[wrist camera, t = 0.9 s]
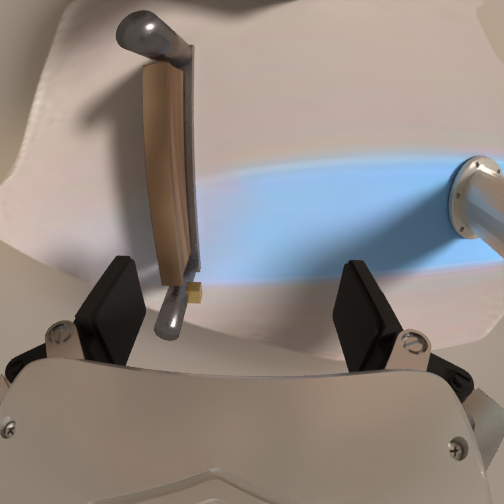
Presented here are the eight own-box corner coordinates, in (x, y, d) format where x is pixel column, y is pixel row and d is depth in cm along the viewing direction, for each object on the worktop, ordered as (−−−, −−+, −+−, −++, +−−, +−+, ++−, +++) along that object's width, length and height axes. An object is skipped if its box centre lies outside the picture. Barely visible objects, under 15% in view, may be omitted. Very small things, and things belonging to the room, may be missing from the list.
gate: (185, 71, 22) (167, 61, 16) (192, 252, 32) (181, 286, 26) (166, 73, 22) (142, 65, 16) (176, 252, 32) (162, 285, 26)
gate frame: (203, 41, 22) (174, 4, 11) (208, 271, 35) (193, 342, 25) (166, 45, 22) (117, 16, 11) (178, 270, 35) (153, 339, 24)
